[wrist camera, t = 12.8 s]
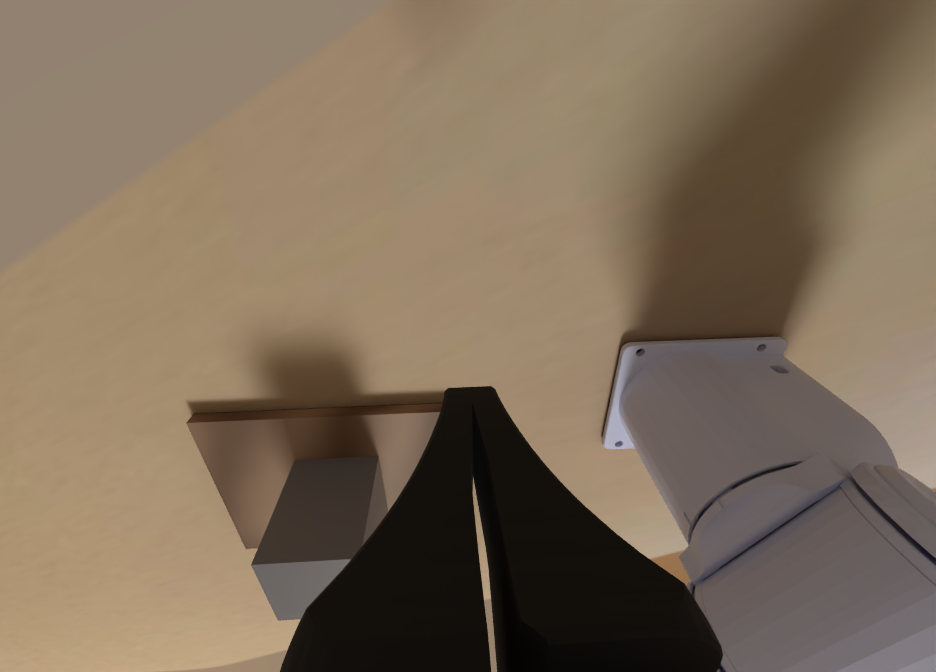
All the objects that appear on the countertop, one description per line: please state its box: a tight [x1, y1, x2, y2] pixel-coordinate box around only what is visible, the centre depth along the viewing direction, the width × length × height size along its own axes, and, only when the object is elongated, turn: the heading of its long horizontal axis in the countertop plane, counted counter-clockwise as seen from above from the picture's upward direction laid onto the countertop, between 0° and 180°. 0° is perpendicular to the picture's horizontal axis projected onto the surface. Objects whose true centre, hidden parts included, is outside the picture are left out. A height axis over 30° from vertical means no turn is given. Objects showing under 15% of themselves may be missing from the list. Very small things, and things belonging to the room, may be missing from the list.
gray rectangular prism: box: [251, 456, 388, 620], centre depth 24 cm, size 5×5×7 cm
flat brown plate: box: [186, 403, 443, 549], centre depth 25 cm, size 16×12×6 cm
